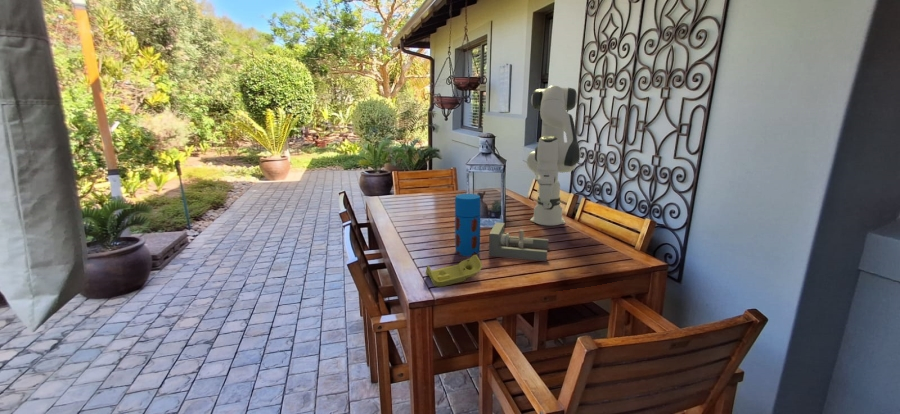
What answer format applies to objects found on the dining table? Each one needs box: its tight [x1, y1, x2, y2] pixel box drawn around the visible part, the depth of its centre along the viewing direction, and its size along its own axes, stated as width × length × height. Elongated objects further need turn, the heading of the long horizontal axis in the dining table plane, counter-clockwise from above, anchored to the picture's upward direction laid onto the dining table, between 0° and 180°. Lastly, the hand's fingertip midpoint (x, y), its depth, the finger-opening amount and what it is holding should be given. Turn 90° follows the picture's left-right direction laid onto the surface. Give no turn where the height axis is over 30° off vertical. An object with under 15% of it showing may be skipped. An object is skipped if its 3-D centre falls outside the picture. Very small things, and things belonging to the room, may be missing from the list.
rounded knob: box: [501, 232, 510, 247], centre depth 176 cm, size 6×7×6 cm
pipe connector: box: [510, 229, 533, 248], centre depth 173 cm, size 10×10×10 cm
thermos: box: [454, 193, 482, 257], centre depth 172 cm, size 11×11×25 cm
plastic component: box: [425, 254, 483, 288], centre depth 148 cm, size 20×7×10 cm
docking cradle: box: [488, 222, 549, 262], centre depth 173 cm, size 17×24×10 cm
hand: (545, 207), depth 169 cm, fingers closed
